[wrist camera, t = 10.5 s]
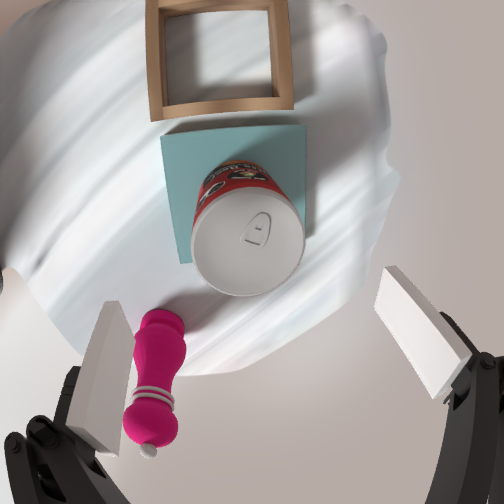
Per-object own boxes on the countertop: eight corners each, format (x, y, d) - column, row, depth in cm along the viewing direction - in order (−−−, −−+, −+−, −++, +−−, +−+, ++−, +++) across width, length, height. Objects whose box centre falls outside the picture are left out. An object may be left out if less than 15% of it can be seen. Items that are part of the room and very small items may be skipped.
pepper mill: (130, 327, 37) (104, 453, 20) (152, 297, 35) (126, 439, 17) (172, 348, 40) (164, 470, 22) (197, 322, 38) (197, 458, 20)
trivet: (182, 254, 32) (180, 263, 30) (163, 134, 25) (160, 136, 24) (298, 242, 33) (303, 250, 32) (299, 124, 26) (305, 125, 25)
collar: (158, 120, 24) (150, 122, 21) (153, 11, 18) (145, 0, 15) (284, 109, 26) (293, 109, 23) (278, 2, 19) (286, -10, 16)
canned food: (279, 161, 26) (317, 195, 17) (268, 234, 30) (294, 298, 21) (201, 155, 25) (191, 185, 16) (196, 231, 29) (189, 296, 19)
